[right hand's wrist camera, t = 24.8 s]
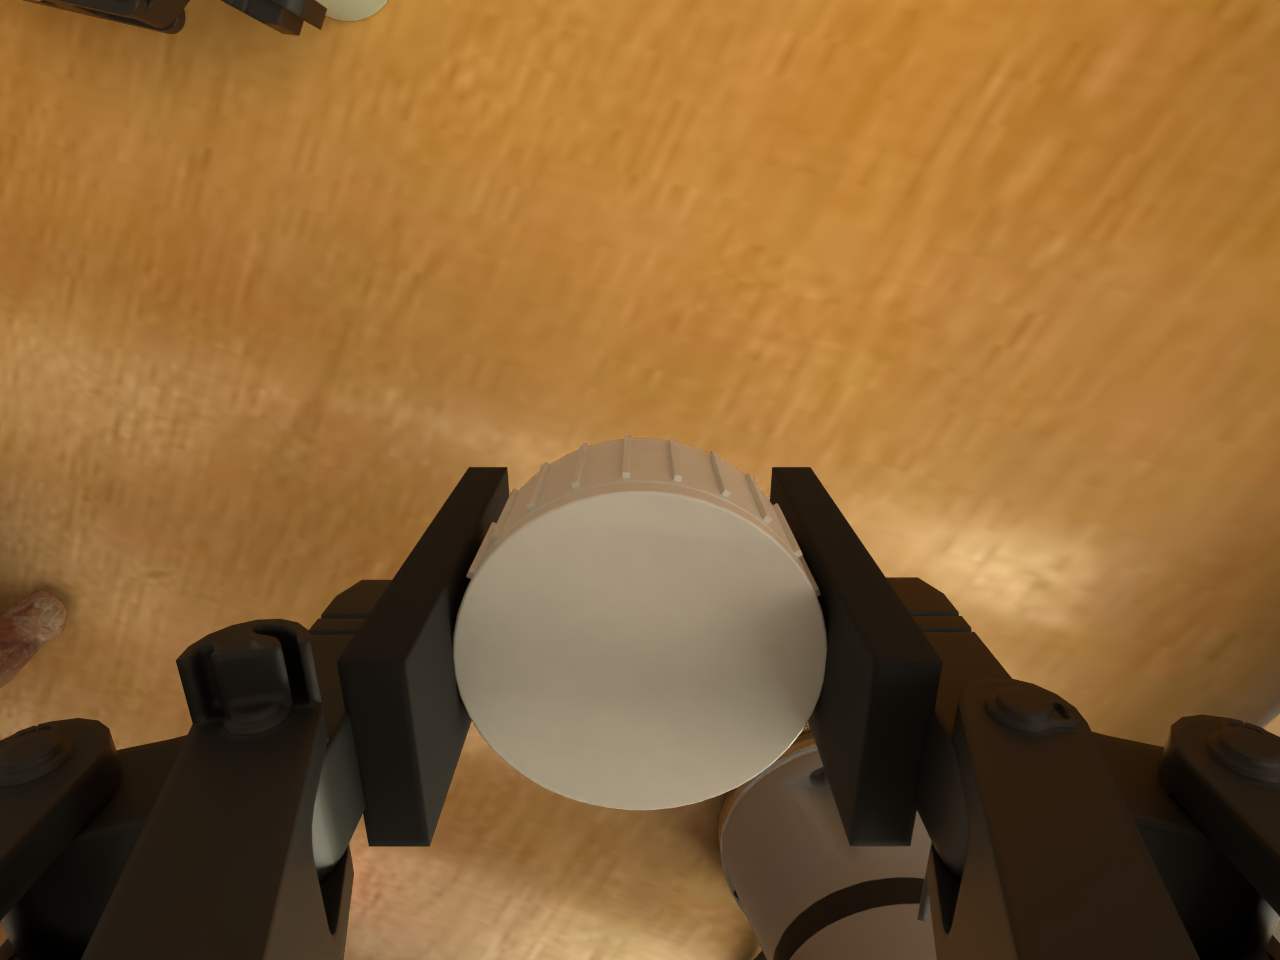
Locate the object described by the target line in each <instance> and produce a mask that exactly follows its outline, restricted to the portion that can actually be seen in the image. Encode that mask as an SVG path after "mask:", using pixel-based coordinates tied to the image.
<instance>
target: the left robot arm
mask: <svg viewBox="0 0 1280 960" xmlns="http://www.w3.org/2000/svg"><path fill="white" fill-rule="evenodd" d="M24 1H29V2H33V3H37V4H42V5H46V6H50V7H55V8H59V9H63V10H68V11H72V12H76V13H81V14H85V15H89V16H94V17H98V18H102V19H107V20H111V21H115V22H120V23H124V24H128V25H133V26H137V27H141V28H146V29H150V30H154V31H159V32H163V33H167V34H175V33H178V32H179V31H180V30H181V29H182V28H183V26H184V24H185V12H184V8H185V6H186V5H187V3H188V2H189V1H190V0H24ZM221 1H223V2H225V3H227V4H229V5H231V6H233V7H234V8H236V9H238V10H240V11H242V12H243V13H245V14H247V15H249V16H251V17H253V18H254V19H256V20H258V21H260V22H262V23H264V24H266V25H267V26H269V27H271V28H273V29H275V30H277V31H279V32H281V33H283V34H290V35H299V34H300V31H301V28H302V24H303V21H306V22H307V23H309V24H311V25H313V26H315V27H317V28H318V29H320V30H321V28H322V25H323V22H324V18H325V15H326V12H327V8H326V7H324V6H323V5H321V4H320V3H318V2H317V1H315V0H221Z"/></svg>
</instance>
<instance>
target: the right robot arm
mask: <svg viewBox="0 0 1280 960" xmlns="http://www.w3.org/2000/svg"><path fill="white" fill-rule="evenodd" d="M508 498H509V486H508V471H507V467H469V468H468V470H467V471H466V473H465V474H464V476H463V477H462V479H461V480H460V481H459V483H458V484H457V486H456V487H455V489H454V490H453V492H452V493H451V495H450V496H449V498H448V499H447V501H446V502H445V503H444V505H443V506H442V508H441V509H440V511H439V512H438V514H437V515H436V517H435V518H434V520H433V521H432V523H431V524H430V525H429V527H428V528H427V530H426V531H425V533H424V534H423V536H422V537H421V539H420V540H419V542H418V543H417V545H416V546H415V547H414V549H413V550H412V552H411V553H410V555H409V556H408V558H407V559H406V561H405V562H404V564H403V565H402V567H401V568H400V569H399V571H398V572H397V574H396V575H395V577H394V578H393V580H361V581H360V582H358V583H356V584H355V585H353V586H352V587H350V588H348V589H347V590H345V591H344V592H342V593H340V594H339V595H337V596H336V597H335V598H334V600H333V601H332V602H331V603H330V605H329V606H328V607H327V608H326V610H325V611H324V612H323V613H322V615H321V619H318V620H317V621H316V622H315V623H314V625H313V626H312V627H311V628H310V630H309V631H308V630H307V629H306V628H305V627H303V626H302V625H301V624H299V623H298V622H293V621H288V620H283V619H265V620H254V621H250V622H245V623H240V624H236V625H232V626H229V627H227V628H224V629H221V630H219V631H216V632H214V633H211V634H209V635H207V636H205V637H204V638H202V639H200V640H199V641H197V642H195V643H194V644H192V645H191V646H189V647H188V648H187V649H186V650H185V651H184V652H183V653H182V654H181V655H180V656H179V658H178V659H177V660H176V663H177V667H178V670H179V674H180V678H181V681H182V685H183V689H184V693H185V696H186V700H187V704H188V707H189V711H190V715H191V719H192V722H193V725H192V727H191V729H190V731H189V733H188V735H185V736H182V737H178V738H174V739H170V740H165V741H160V742H155V743H150V744H145V745H140V746H136V747H131V748H126V749H121V750H116V749H115V746H114V743H113V739H112V736H111V733H110V730H109V728H107V727H106V726H105V725H103V724H102V723H101V722H99V721H97V720H90V719H82V718H75V719H67V720H59V721H51V722H47V723H43V724H38V726H32V727H29V728H26V729H23V730H21V731H18V732H17V733H15V734H14V735H12V736H10V737H7V738H5V739H3V740H1V741H0V921H1V922H2V924H3V927H4V929H5V931H6V934H7V936H8V939H7V940H6V941H5V942H4V943H3V944H2V946H1V947H0V960H343V959H344V951H345V942H346V934H347V926H348V918H349V910H350V901H351V893H352V885H353V877H354V872H353V864H352V857H351V852H350V847H349V842H350V840H351V837H352V835H353V833H354V831H355V829H356V827H357V824H358V822H359V820H360V818H361V816H362V814H363V815H364V821H365V826H366V832H367V838H368V843H369V846H430V843H431V840H432V837H433V834H434V831H435V828H436V825H437V822H438V819H439V816H440V813H441V810H442V807H443V804H444V801H445V798H446V795H447V792H448V790H449V787H450V784H451V781H452V778H453V775H454V772H455V769H456V766H457V763H458V760H459V757H460V754H461V751H462V748H463V745H464V742H465V739H466V736H467V733H468V730H469V727H470V724H471V721H472V720H471V718H470V717H469V715H468V712H467V710H466V708H465V705H464V703H463V701H462V699H461V696H460V692H459V689H458V685H457V681H456V678H455V669H454V660H453V633H454V628H455V623H456V618H457V613H458V610H459V607H460V605H461V602H462V599H463V596H464V594H465V591H466V589H467V587H468V585H469V583H470V581H471V579H470V578H468V577H466V576H467V573H468V571H469V569H470V567H471V565H472V563H473V561H474V559H475V557H476V555H477V553H478V550H479V548H480V546H481V544H482V542H483V540H484V538H485V536H486V534H487V532H488V530H489V528H490V526H491V524H492V522H494V523H496V524H497V522H498V520H499V517H500V515H501V513H502V511H503V509H504V507H505V505H506V502H507V500H508ZM770 502H771V504H772V505H774V504H776V503H777V504H778V505H779V507H780V509H781V511H782V513H783V515H784V517H785V519H786V521H787V523H788V525H789V527H790V529H791V531H792V533H793V536H794V538H795V540H796V542H797V544H798V546H799V548H800V550H801V552H802V554H803V557H804V559H805V562H806V564H807V566H808V568H809V570H810V572H811V574H812V576H813V578H814V580H815V582H816V584H817V586H818V588H819V591H820V596H817V598H818V601H819V604H820V606H821V609H822V612H823V617H824V621H825V626H826V631H827V655H826V665H825V674H824V682H823V686H822V690H821V694H820V697H819V699H818V701H817V704H816V706H815V709H814V711H813V713H812V715H811V717H810V718H809V720H808V722H809V725H810V728H811V731H812V732H810V733H806V734H803V735H801V736H798V737H797V738H796V739H795V741H794V742H793V743H792V744H791V746H790V747H789V748H788V749H787V750H786V751H785V752H784V753H783V754H782V755H781V756H780V757H779V758H778V759H777V760H776V761H775V762H774V763H773V764H771V765H770V766H769V767H767V768H766V769H765V770H763V771H762V772H761V773H759V774H758V775H757V776H755V777H754V778H752V779H750V780H749V781H747V782H745V783H743V784H742V785H740V786H738V787H736V788H734V789H732V790H730V791H729V793H728V795H727V797H726V799H725V801H724V804H723V806H722V810H721V813H720V817H719V825H718V838H719V846H720V854H721V862H722V867H723V871H724V875H725V877H726V880H727V883H728V885H729V888H730V890H731V892H732V894H733V896H734V898H735V900H736V901H737V903H738V905H739V907H740V908H741V909H742V911H743V912H744V913H745V915H746V916H747V918H748V920H749V923H750V925H751V927H752V929H753V931H754V933H755V935H756V937H757V940H758V942H759V944H760V946H761V948H762V951H761V952H760V954H759V955H758V956H757V957H756V958H755V959H754V960H1280V943H1279V942H1278V941H1277V940H1276V938H1275V937H1274V936H1273V935H1272V934H1273V932H1274V930H1275V927H1276V925H1277V923H1278V920H1279V918H1280V737H1278V736H1276V735H1274V734H1272V733H1270V732H1268V731H1266V730H1265V729H1263V728H1261V727H1258V726H1256V725H1253V724H1250V723H1247V722H1246V723H1243V722H1242V721H1240V720H1235V719H1231V718H1224V717H1216V716H1208V715H1196V716H1188V717H1182V718H1181V719H1179V720H1178V721H1177V722H1175V723H1174V724H1173V725H1171V728H1170V731H1169V734H1168V737H1167V741H1166V744H1165V747H1160V746H1155V745H1150V744H1145V743H1140V742H1135V741H1131V740H1126V739H1121V738H1116V737H1111V736H1106V735H1103V734H1099V733H1095V732H1091V730H1090V728H1089V725H1088V723H1087V722H1086V721H1085V719H1084V718H1083V717H1082V716H1081V714H1080V713H1079V712H1078V710H1077V709H1076V708H1075V707H1074V706H1072V705H1071V704H1069V703H1068V702H1067V701H1065V700H1064V699H1062V698H1061V697H1060V696H1058V695H1057V694H1055V693H1053V692H1050V691H1048V690H1046V689H1044V688H1041V687H1039V686H1037V685H1035V684H1031V683H1027V682H1023V681H1019V680H1015V679H1012V678H1011V677H1010V675H1009V674H1008V673H1007V672H1006V670H1005V669H1004V668H1003V667H1002V666H1001V664H1000V663H999V662H998V661H997V659H996V658H995V657H994V656H993V654H992V653H991V652H990V651H989V649H988V648H987V647H986V646H985V644H984V643H983V642H982V641H981V640H980V638H979V637H978V636H977V635H976V633H975V632H971V627H970V626H969V625H968V623H967V622H966V621H965V620H964V618H963V617H962V616H959V612H958V611H957V610H956V609H955V607H954V606H953V605H952V604H951V602H950V601H949V600H948V599H947V597H946V596H945V595H944V594H943V593H942V592H940V591H938V590H937V589H935V588H934V587H932V586H930V585H929V584H927V583H926V582H924V581H922V580H921V579H919V578H885V576H884V575H883V573H882V572H881V570H880V569H879V567H878V566H877V564H876V563H875V561H874V560H873V558H872V557H871V556H870V554H869V553H868V551H867V550H866V548H865V547H864V545H863V544H862V542H861V541H860V539H859V538H858V536H857V535H856V534H855V532H854V531H853V529H852V528H851V526H850V525H849V523H848V522H847V520H846V519H845V517H844V516H843V514H842V513H841V512H840V510H839V509H838V507H837V506H836V504H835V503H834V501H833V500H832V498H831V497H830V495H829V494H828V492H827V491H826V490H825V488H824V487H823V485H822V484H821V482H820V481H819V479H818V478H817V476H816V475H815V473H814V472H813V470H812V469H811V468H810V467H772V479H771V493H770Z"/></svg>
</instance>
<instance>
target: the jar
mask: <svg viewBox="0 0 1280 960" xmlns="http://www.w3.org/2000/svg"><path fill="white" fill-rule="evenodd" d="M315 1H317V2H318V3H320V4H321V5H323V6H324V7H326V8H327V12H326V15H325V16H327V17H330V18H332V19H336V20H340V21H358V20H362V19H365V18H368V17H370V16H372V15H373V14H375V13H376V12H378V11H379V10H380V9H381V8H382V7H383V6H384V5H385V4H386V2H387V1H388V0H315Z"/></svg>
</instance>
